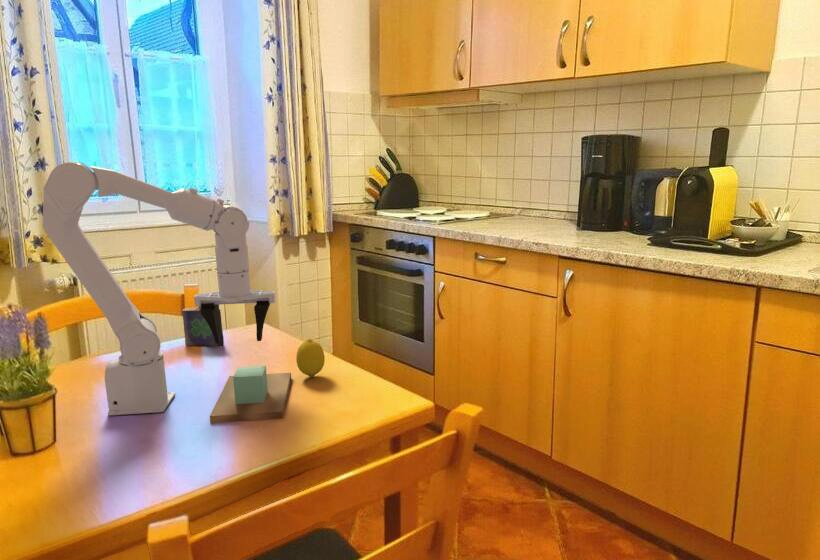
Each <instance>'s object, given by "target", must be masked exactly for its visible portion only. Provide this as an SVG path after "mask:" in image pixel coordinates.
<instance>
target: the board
mask: <svg viewBox="0 0 820 560" xmlns="http://www.w3.org/2000/svg"><path fill="white" fill-rule="evenodd" d="M266 375H267V389H268V392H267V395H266V399H265V402H264V403H248V404H235V394H234V383H233V377H234V375H229V376H228V378H227V380H226V383H224V384H225V385H224V386H223V389H222V390H221V392H220V394H219V396H218V398H217V401H216V402H215V404H214V407H213V409H211V410H212V411H211V413H210V415H209V422H210V424H211V423H212V424H213V423H224V422H225V423H226V422H227V423H228V422H241V421H244V422H245V421H256V420H257V421H259V420H260V421H261V420H275V419H283V417H284V414H285V409H286V404H287V399H288V397H289V396H288V394H289V391H290V387H291V382H292V372H280V373H277V372H276V373H266Z"/></svg>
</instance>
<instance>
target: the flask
mask: <svg viewBox="0 0 820 560" xmlns="http://www.w3.org/2000/svg"><path fill="white" fill-rule="evenodd" d="M200 310H201V306H197V307H188V308H187V307H186V308H183V309H182V311H181V315H182V322H183V332H184V343H185V346H186V347H188V348H205V347H206V348H221V347H224V346H225V345H224V344H225V341H224V333H223V332H224V331H223V326H222V325H223V322H222V315H221V313H222V312H221V309H220V308H219V324H220V330H221V341H220V343H215V339H214V336H213V334H212V331H211V329H210V327H209V325H208V323H207V322H206V320H205V319H204V317H203V316H202V315H201V312H200Z"/></svg>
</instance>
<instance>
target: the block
mask: <svg viewBox="0 0 820 560" xmlns="http://www.w3.org/2000/svg"><path fill="white" fill-rule="evenodd" d="M266 374H267V365H253V366H252V365H251V366H238V367H236V370H235V372H234V375H233V376H234V377H233V383H234V394H235V404H248V403H264V402H265V399H266V395H267V392H268V389H267V375H266Z"/></svg>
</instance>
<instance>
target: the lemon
mask: <svg viewBox="0 0 820 560" xmlns="http://www.w3.org/2000/svg"><path fill="white" fill-rule="evenodd" d="M325 357H326V356H325V353H324V349H323V347H322V345H321V344H320V343H319V342H317V341H315V340H312V338H309V339H307V340H305V341H303V342H302V343H301V344H300V345H299V347H298V348H297V352H296V358H295V359H296V364H297V365H296V366H297V368H298V370H299V371H300V372H301V373H302V374H303V375H306V376H308V377H309V378H314V376H315V375H317V374H318V373H320V372H321V371H322V369H323V368H324V365H325V359H326V358H325Z"/></svg>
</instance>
